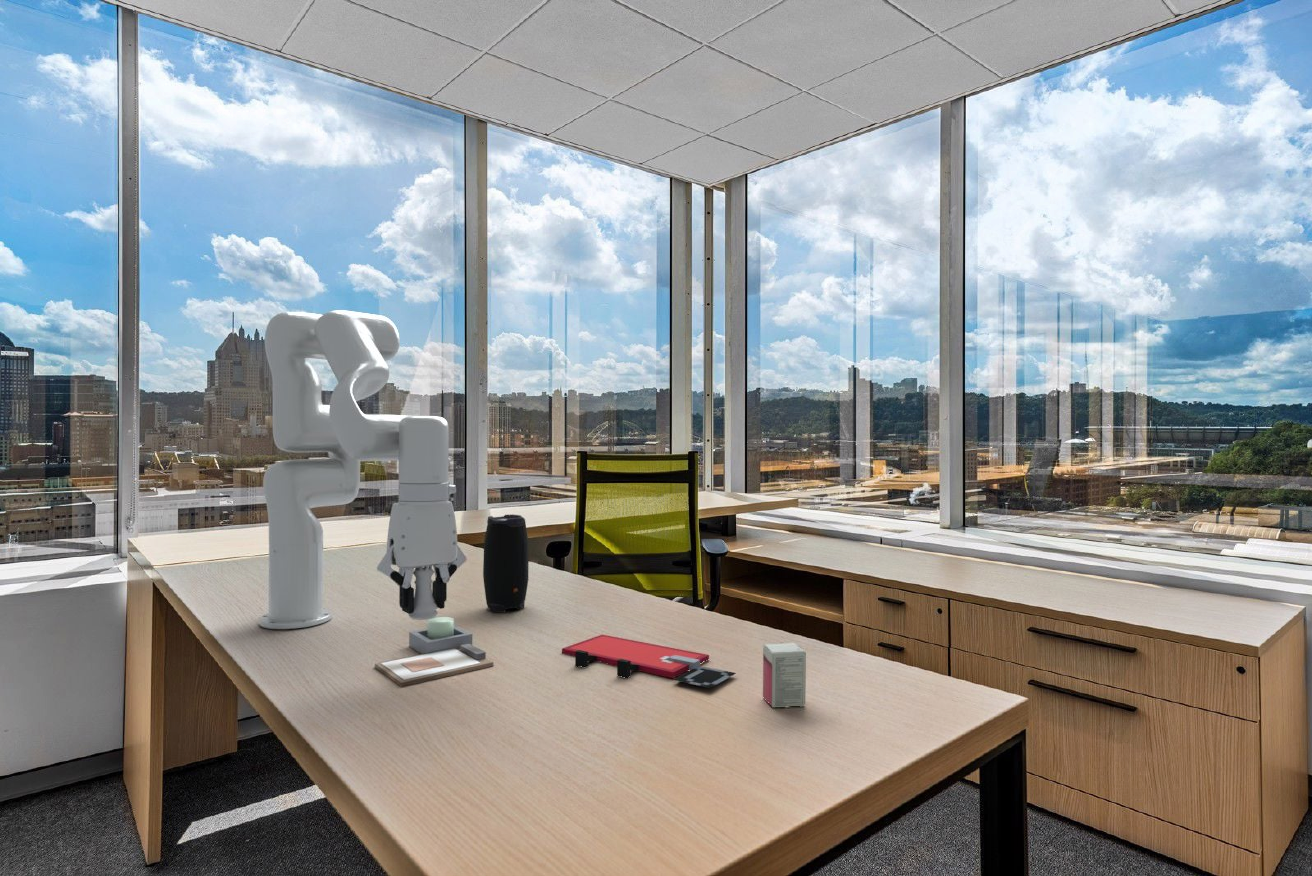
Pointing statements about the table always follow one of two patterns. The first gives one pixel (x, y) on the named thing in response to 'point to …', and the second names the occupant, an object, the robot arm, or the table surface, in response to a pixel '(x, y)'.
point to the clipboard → (434, 665)
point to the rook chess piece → (423, 595)
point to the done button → (440, 628)
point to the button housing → (438, 641)
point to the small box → (784, 674)
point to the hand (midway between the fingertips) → (423, 608)
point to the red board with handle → (647, 659)
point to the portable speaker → (505, 562)
